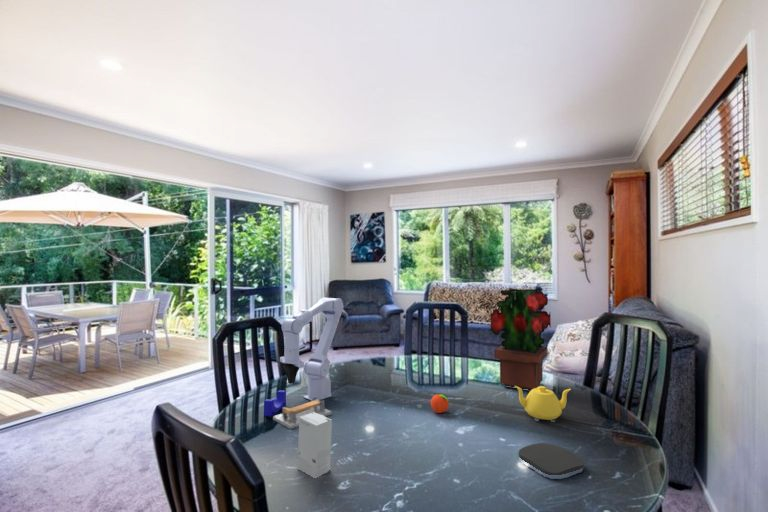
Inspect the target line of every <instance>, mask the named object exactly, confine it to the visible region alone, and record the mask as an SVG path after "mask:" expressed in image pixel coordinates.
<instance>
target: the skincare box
mask: <svg viewBox="0 0 768 512" xmlns="http://www.w3.org/2000/svg"><path fill="white" fill-rule="evenodd" d="M332 431H333V420H332V419H330V418H329V417H327V416H323V415H320V414H318V413H315V412H313V413H310V414H307V415H304V416H301V417H299V426H298V439H297V440H298V443H297V445H298V446H297V464H296V465H297V467H296V468H297V470H299V471H301V472H303V473H304V472H305V473H304V474H307V476H309V475H310V477H311V478H312V477H313V479H314V478H316V479H318V478H320V477H322V476H323V475H322V474H324V473H326V472H327V471H329V470H330V471H331V463H332V461H331V460H332V459H331V458H332ZM330 471H329V472H330ZM327 473H328V472H327ZM327 473H326V474H327ZM321 475H322V476H321ZM324 475H325V474H324ZM319 476H320V477H319ZM317 477H318V478H317Z"/></svg>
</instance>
